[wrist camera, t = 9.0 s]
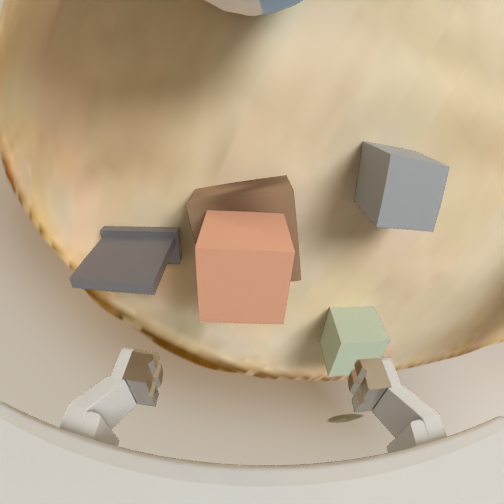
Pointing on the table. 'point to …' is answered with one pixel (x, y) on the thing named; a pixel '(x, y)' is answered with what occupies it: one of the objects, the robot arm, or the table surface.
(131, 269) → the tile
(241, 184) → the brown curved block
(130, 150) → the table surface
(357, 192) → the slate cube
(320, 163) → the table surface
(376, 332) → the sage cube
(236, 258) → the terracotta cube
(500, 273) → the table surface
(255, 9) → the retro all-in-one computer
